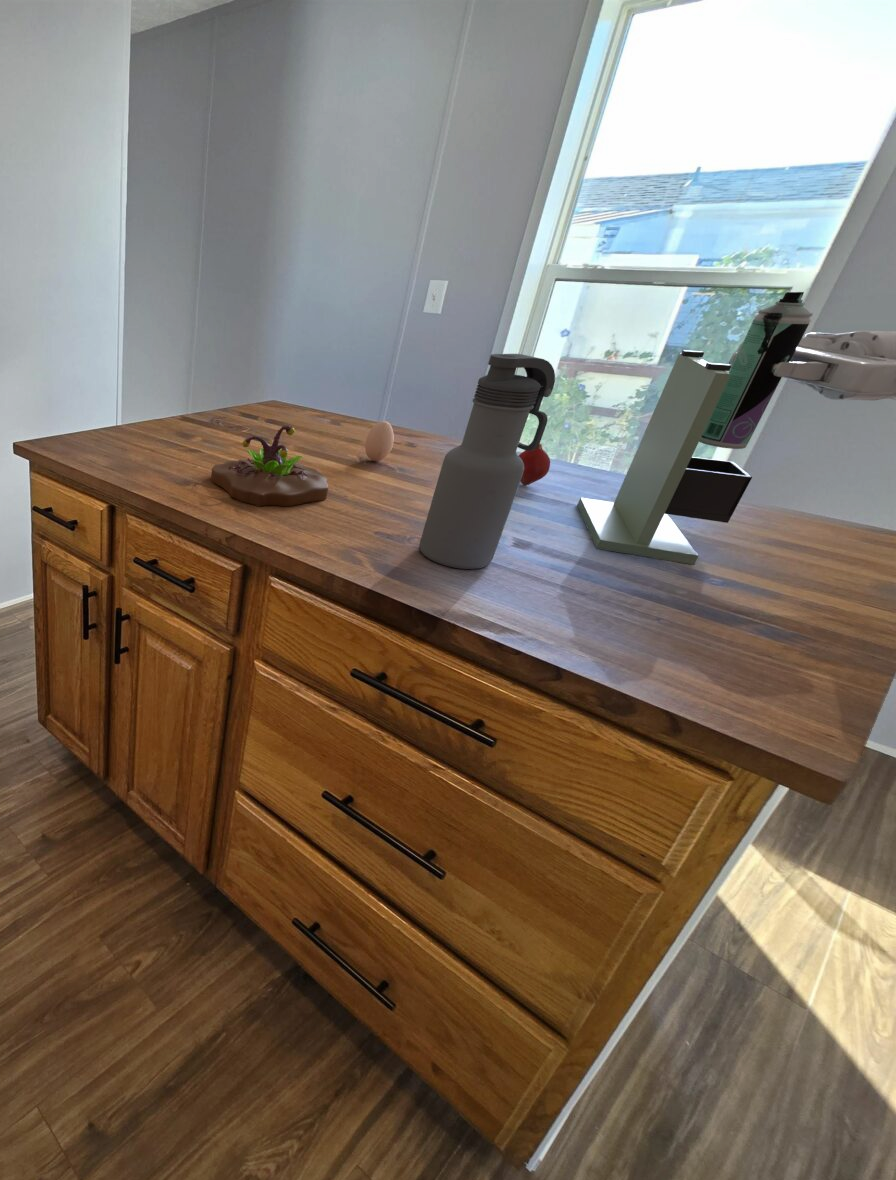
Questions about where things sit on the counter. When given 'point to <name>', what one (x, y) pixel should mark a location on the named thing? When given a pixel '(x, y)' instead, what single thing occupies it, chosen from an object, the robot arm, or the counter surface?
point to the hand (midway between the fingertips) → (753, 363)
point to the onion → (534, 465)
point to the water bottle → (486, 464)
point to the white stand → (671, 472)
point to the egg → (379, 441)
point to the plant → (270, 476)
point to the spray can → (756, 372)
